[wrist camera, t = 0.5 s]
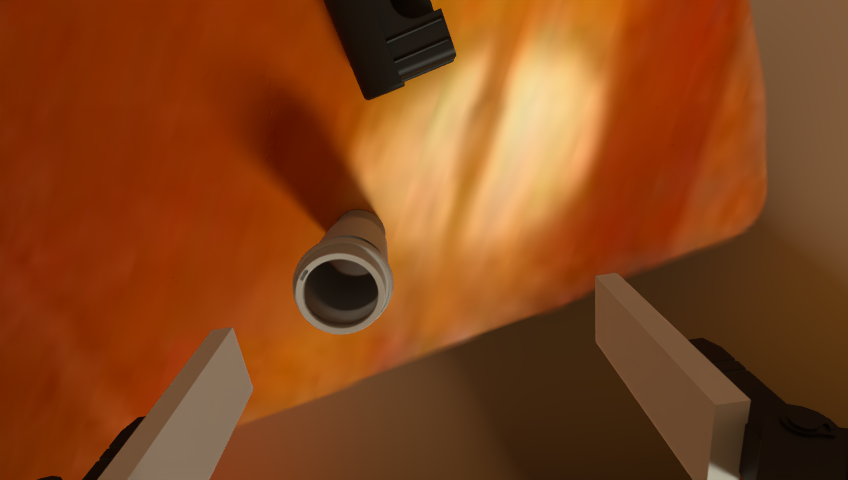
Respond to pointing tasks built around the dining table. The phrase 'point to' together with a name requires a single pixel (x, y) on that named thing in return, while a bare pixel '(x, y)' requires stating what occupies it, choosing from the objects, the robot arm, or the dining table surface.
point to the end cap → (390, 41)
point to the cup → (345, 275)
